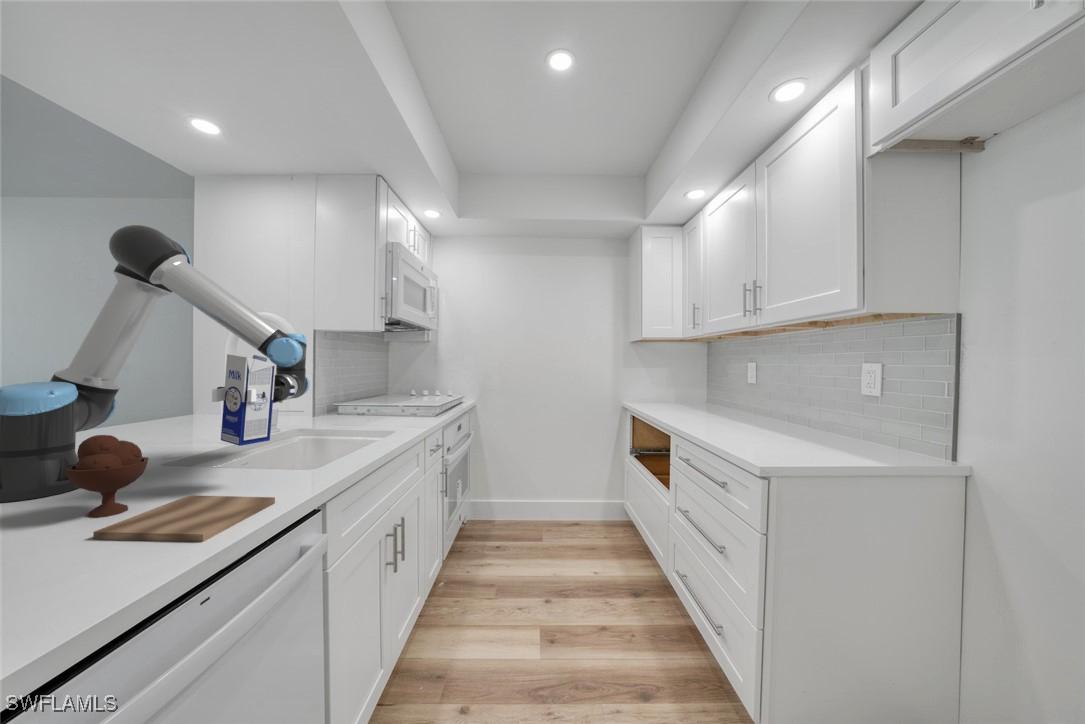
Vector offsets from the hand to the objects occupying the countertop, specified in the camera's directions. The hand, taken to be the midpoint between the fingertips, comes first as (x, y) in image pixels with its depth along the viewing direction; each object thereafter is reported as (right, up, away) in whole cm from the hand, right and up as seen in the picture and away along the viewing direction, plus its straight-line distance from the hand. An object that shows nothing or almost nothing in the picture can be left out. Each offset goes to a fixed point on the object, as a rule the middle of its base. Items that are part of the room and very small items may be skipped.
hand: (232, 395), depth 88 cm
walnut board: (+3, -22, -13) cm, 26 cm away
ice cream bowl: (-15, -22, -11) cm, 29 cm away
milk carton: (-1, -11, +5) cm, 12 cm away
